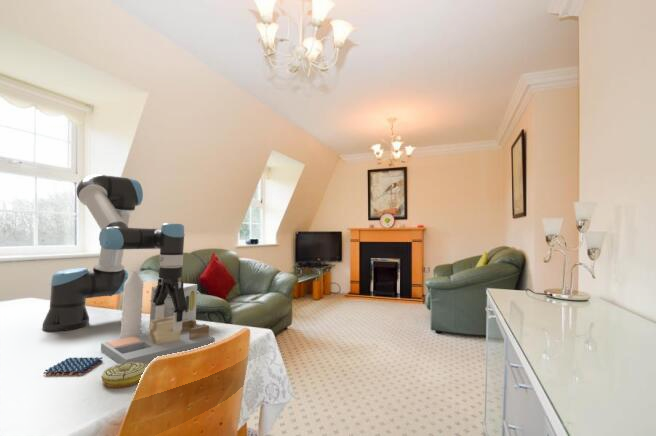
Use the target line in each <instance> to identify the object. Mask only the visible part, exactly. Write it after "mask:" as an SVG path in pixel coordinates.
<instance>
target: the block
mask: <svg viewBox="0 0 656 436" xmlns="http://www.w3.org/2000/svg"><path fill="white" fill-rule="evenodd" d="M173 321H174V316H172V317H167V318H161V319H155V320H150V319H149V324H150V329H149V333H150V336H149V341H150V342H152V343H154V344H156V345H159V344H163V343H167V342H171V341H176V340H180V337H181V331H176V332H173Z"/></svg>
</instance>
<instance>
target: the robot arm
mask: <svg viewBox="0 0 656 436" xmlns="http://www.w3.org/2000/svg"><path fill="white" fill-rule="evenodd" d="M75 192H76V197H77V198H78V201H79V202H80V203H81V204H82V205H84V206H86V207H87V209H88V211H89V212H90V214H91V215H92V217H93V219H94V220H95V222H96V224H97V225H98V226H99V228H100V232H99V236H98V241H99V245H100V252H99V253H100V254H99V259H98V262H96V263H95V264H93V269H92V270H88V268H87V267H78V268H68V269H62V270H59V271H56V272H55V273H54V274H52V276H51V277H52V279H51V282H50V301H49V309H48V312H47V314H46V316H45V318H44V320H43V322H42V326H41V327H42V330H43V331H47V332H61V331H71V330H75V329H80V328H83V327H86V326H88V325H89V324H90V316H89V313H88V311H87V308H86V307H87V306H86V299H91V298H92V299H93V298H94V299H95V298H101V297H103V298H104V297H112V296H117V295H119V294H122V293H123V291H124V283H125V282H126V280H127V279H128V278H129V274H128V271H127V270H126V269H125V266H124V265H123V263H122V262H123V256H124V250H160V251H159V257H158V260H159V268H158V277H159V278H158V279H157V285H156V286H157V289H156V292H155V295H154V299H153V303H155V305H156V314H155V319H161V318H164V305H163V304H165V303H164V301H165V299H166V297H167V295H168V294H169V295H170V296H171V298H172V302H173V305H174V308H175V310H174V321H173V332H176V331H181V330H182V317H183V311H184V310H187V306H186V300H185V295H184V290H183V283H184V282H183V281H179V279H180V278H182V277H183V267H182V266H183V265H184V247H185V245H184V243H185V226H184V225H183V224H182V223H172V222H171V223H169V222H168V223H167V222H165V223H162V225H161V228H145V227H144V228H143V227H142V228H139V227H129V222H130V217H131V213H132V212H134V211H136V207H138V206H140V205H141V204H142V203H143V200H144V199H143V197H144V190H143V188H142V185H141V183H140V182H139V181H138V180H136V179H133V178H128V177H122V176H115V175H106V174H97V173H96V174H92V175H88V176H86V177H84V178H83V179H81V181H79V183H78V184H77V187H76V190H75Z"/></svg>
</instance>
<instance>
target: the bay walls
mask: <svg viewBox="0 0 656 436" xmlns="http://www.w3.org/2000/svg"><path fill="white" fill-rule="evenodd" d="M188 330H190V333H189V339H190V340H191V339H195V338H200V337H204V336H208V335H209V336H210V325H208V324H206V323H204V324H202V325H201V326H198V327H197V320H196V321H194V320H189V321H183V322H182V330H181V332H183V331H188Z"/></svg>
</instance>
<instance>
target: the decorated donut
mask: <svg viewBox="0 0 656 436" xmlns="http://www.w3.org/2000/svg"><path fill="white" fill-rule="evenodd" d="M147 366H148V365H147V363H139V362H128V363H123V364H119V363H118V364H115V365H112V366H111V367H108V368H106V369H105V370H103V373H102V374H101V379H102V382H103V384H104V385H105V386H107V387H108V388H114V389H115V388H125V387H130V386H133V385H136V384H138V382H139V380H140V378H141V375H142V374H143V372H144V370H145V368H146V367H147ZM139 383H140V382H139Z"/></svg>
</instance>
